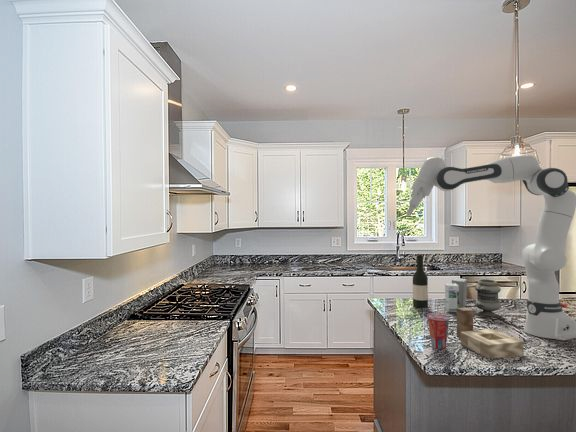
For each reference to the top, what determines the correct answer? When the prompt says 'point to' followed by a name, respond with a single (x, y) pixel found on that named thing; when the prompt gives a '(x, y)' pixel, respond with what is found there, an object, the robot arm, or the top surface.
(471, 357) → the top surface
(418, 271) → the wine bottle
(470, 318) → the walnut peg
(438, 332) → the cup
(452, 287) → the syrup box
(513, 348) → the socket block
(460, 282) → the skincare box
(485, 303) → the grey ceramic vase
